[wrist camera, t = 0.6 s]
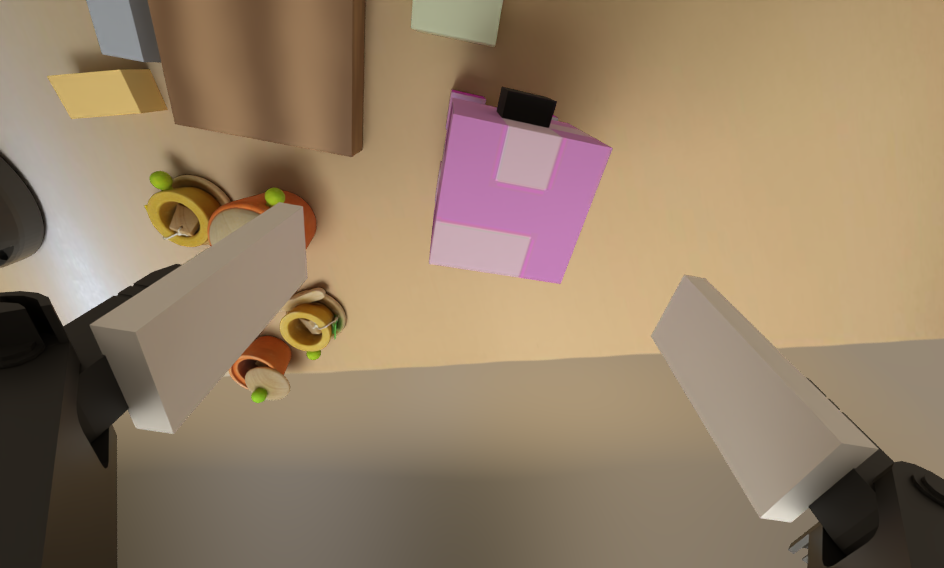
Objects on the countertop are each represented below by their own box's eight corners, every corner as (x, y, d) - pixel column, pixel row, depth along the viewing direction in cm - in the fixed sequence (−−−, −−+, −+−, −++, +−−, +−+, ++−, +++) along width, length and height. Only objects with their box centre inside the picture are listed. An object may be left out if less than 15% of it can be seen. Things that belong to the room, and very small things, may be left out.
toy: (454, 70, 29) (458, 81, 16) (550, 93, 30) (623, 119, 17) (434, 199, 34) (425, 283, 22) (516, 214, 36) (553, 301, 23)
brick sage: (417, 31, 28) (410, 28, 26) (421, -18, 27) (414, -27, 24) (494, 47, 29) (495, 45, 26) (502, -1, 27) (504, -8, 24)
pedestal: (200, 119, 32) (175, 123, 29) (165, -65, 26) (129, -80, 23) (362, 149, 33) (351, 156, 30) (365, -22, 26) (352, -31, 24)
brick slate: (173, 62, 30) (144, 62, 27) (135, 55, 30) (102, 54, 27) (153, -33, 27) (118, -43, 24) (111, -41, 27) (70, -53, 24)
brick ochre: (104, 114, 32) (71, 118, 30) (84, 75, 31) (46, 76, 28) (169, 109, 32) (141, 113, 29) (151, 69, 30) (119, 69, 28)
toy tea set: (147, 166, 34) (39, 198, 26) (306, 153, 33) (246, 183, 25) (253, 371, 48) (203, 436, 39) (370, 368, 46) (344, 433, 38)
